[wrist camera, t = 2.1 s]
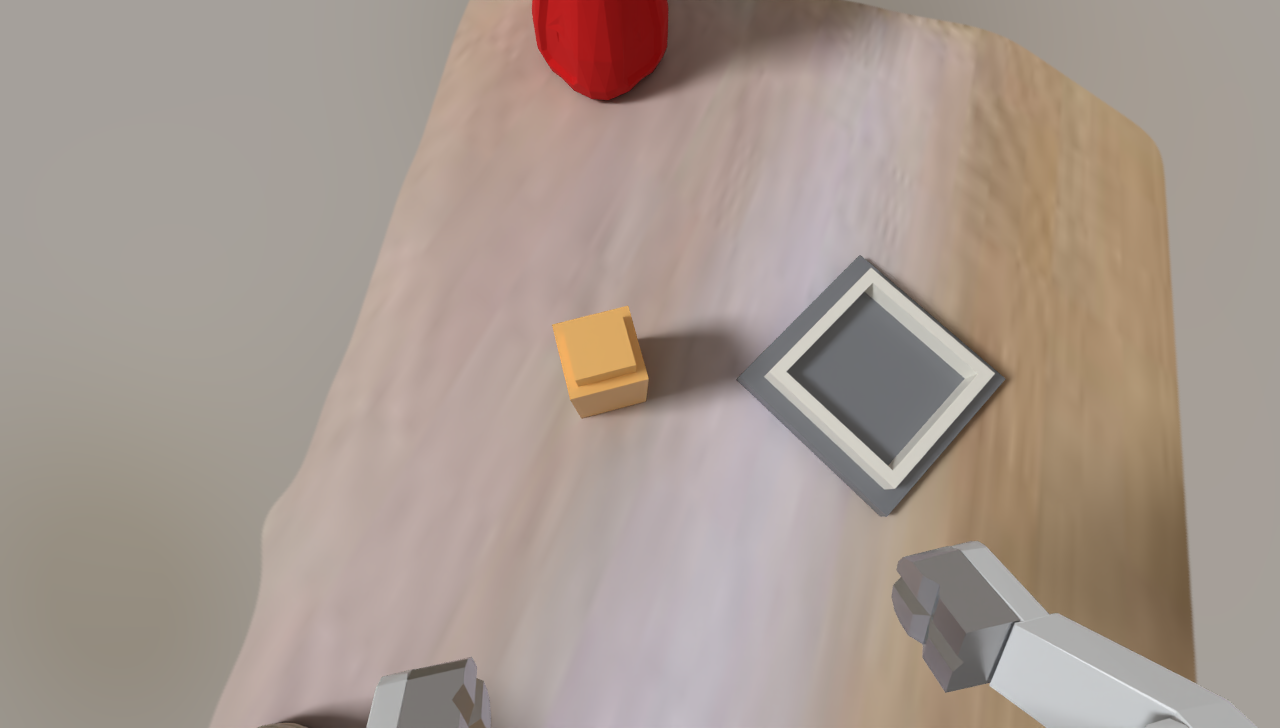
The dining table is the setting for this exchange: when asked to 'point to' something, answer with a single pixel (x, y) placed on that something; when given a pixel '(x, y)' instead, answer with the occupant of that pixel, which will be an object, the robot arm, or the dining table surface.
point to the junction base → (871, 384)
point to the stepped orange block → (602, 361)
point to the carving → (283, 725)
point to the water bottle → (601, 42)
